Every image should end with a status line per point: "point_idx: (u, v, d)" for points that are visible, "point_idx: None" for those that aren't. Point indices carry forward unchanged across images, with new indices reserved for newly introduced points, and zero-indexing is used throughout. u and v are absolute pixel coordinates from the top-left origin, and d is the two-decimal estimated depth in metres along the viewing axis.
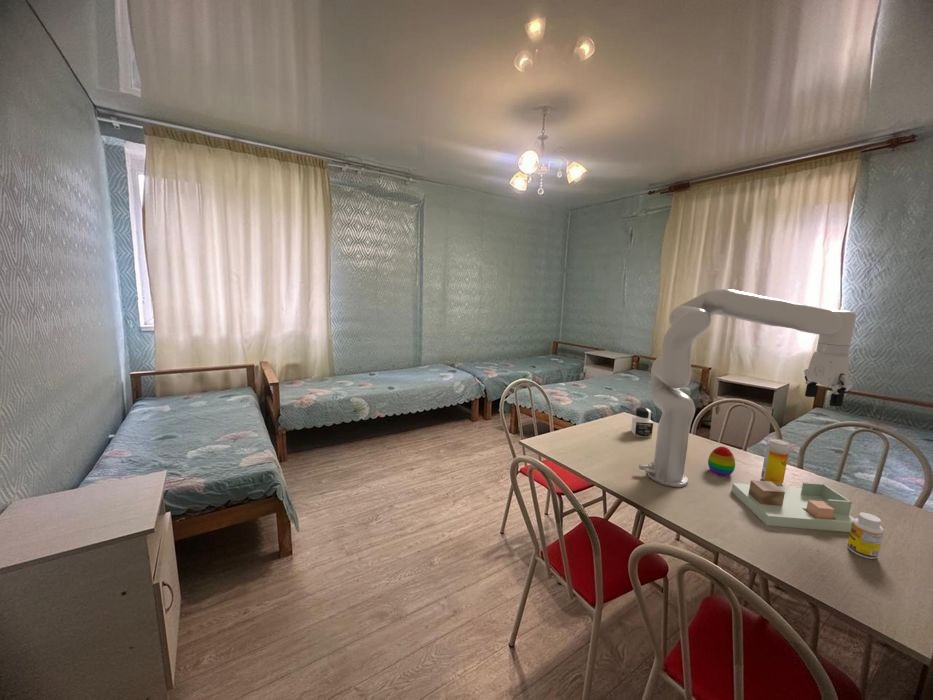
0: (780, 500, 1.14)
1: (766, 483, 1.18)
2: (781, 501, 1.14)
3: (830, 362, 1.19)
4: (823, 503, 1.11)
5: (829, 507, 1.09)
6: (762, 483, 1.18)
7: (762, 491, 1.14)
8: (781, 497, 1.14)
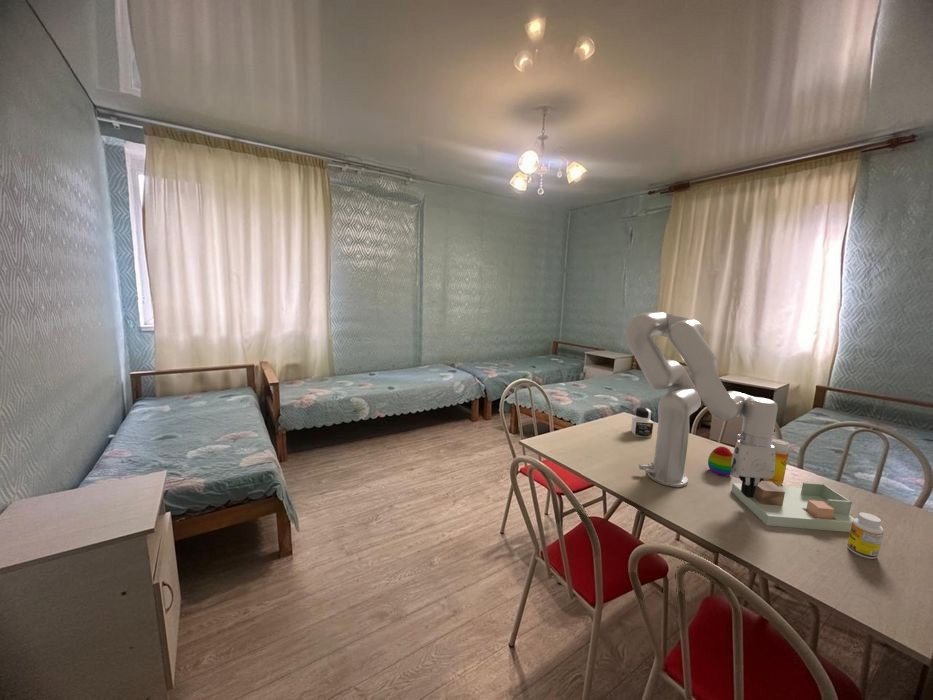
0: (780, 500, 1.14)
1: (766, 483, 1.18)
2: (781, 501, 1.14)
3: (771, 454, 1.12)
4: (823, 503, 1.11)
5: (829, 507, 1.09)
6: (762, 483, 1.18)
7: (762, 491, 1.14)
8: (782, 497, 1.14)
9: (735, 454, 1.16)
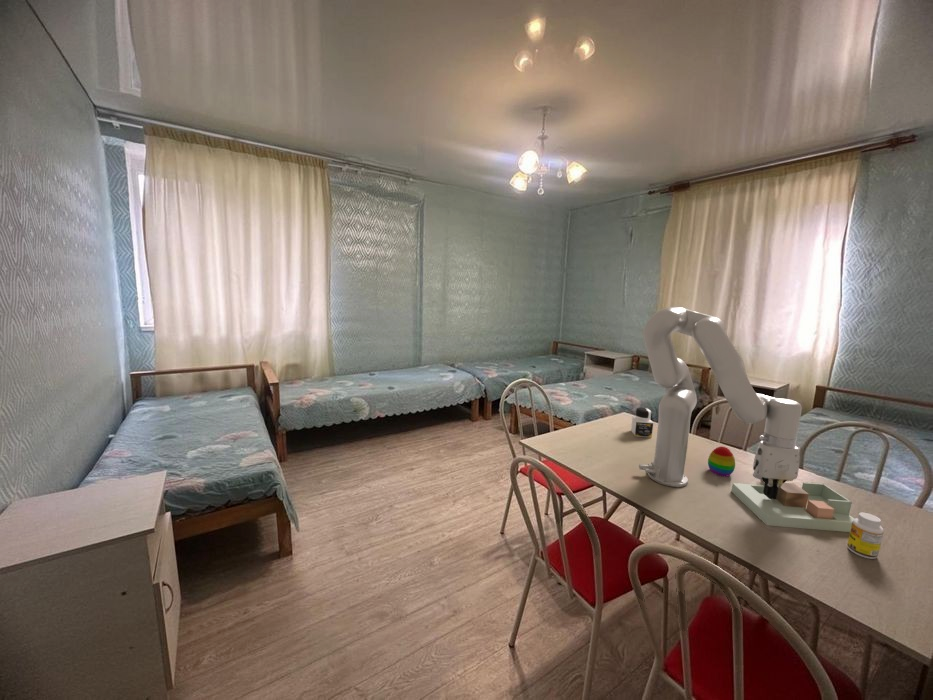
0: (804, 502, 1.13)
1: (789, 485, 1.17)
2: (805, 503, 1.13)
3: (795, 456, 1.11)
4: (823, 503, 1.11)
5: (829, 507, 1.09)
6: (785, 485, 1.17)
7: (786, 493, 1.13)
8: (805, 499, 1.13)
9: (758, 455, 1.15)
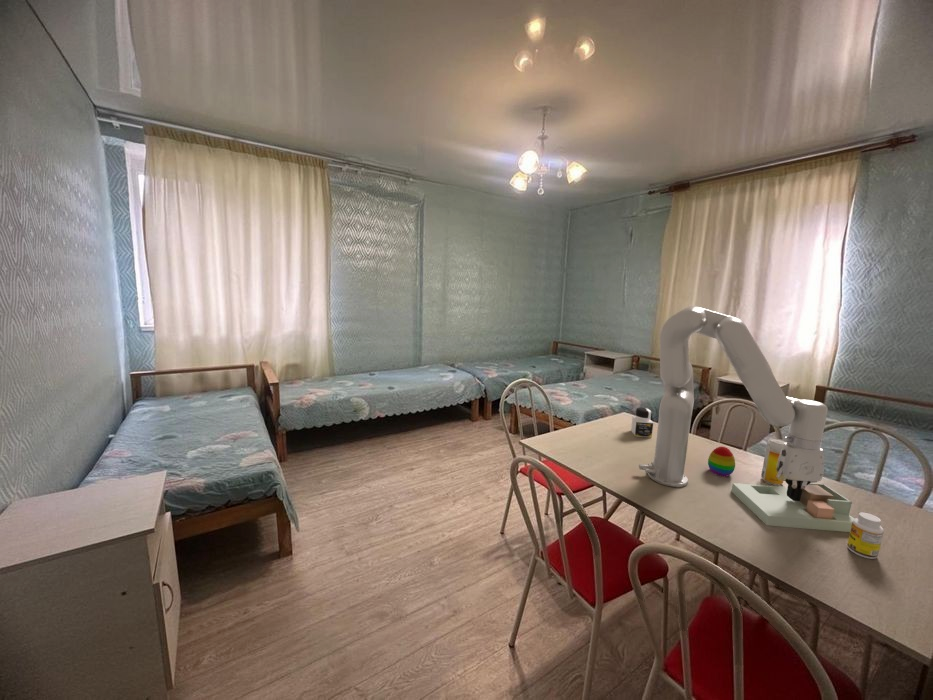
0: None
1: (813, 487, 1.16)
2: None
3: (820, 457, 1.11)
4: (823, 503, 1.11)
5: (829, 507, 1.09)
6: (809, 486, 1.17)
7: (810, 495, 1.13)
8: None
9: (782, 457, 1.15)
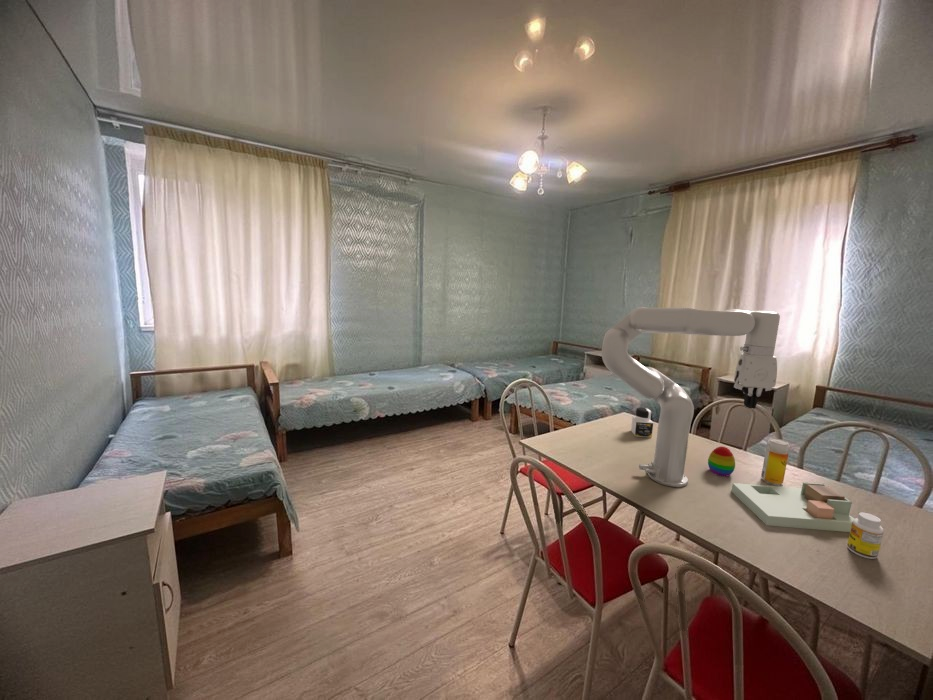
0: None
1: (824, 488, 1.16)
2: None
3: (773, 364, 1.17)
4: (823, 503, 1.11)
5: (829, 507, 1.09)
6: (819, 487, 1.16)
7: (821, 496, 1.12)
8: None
9: (738, 366, 1.21)
